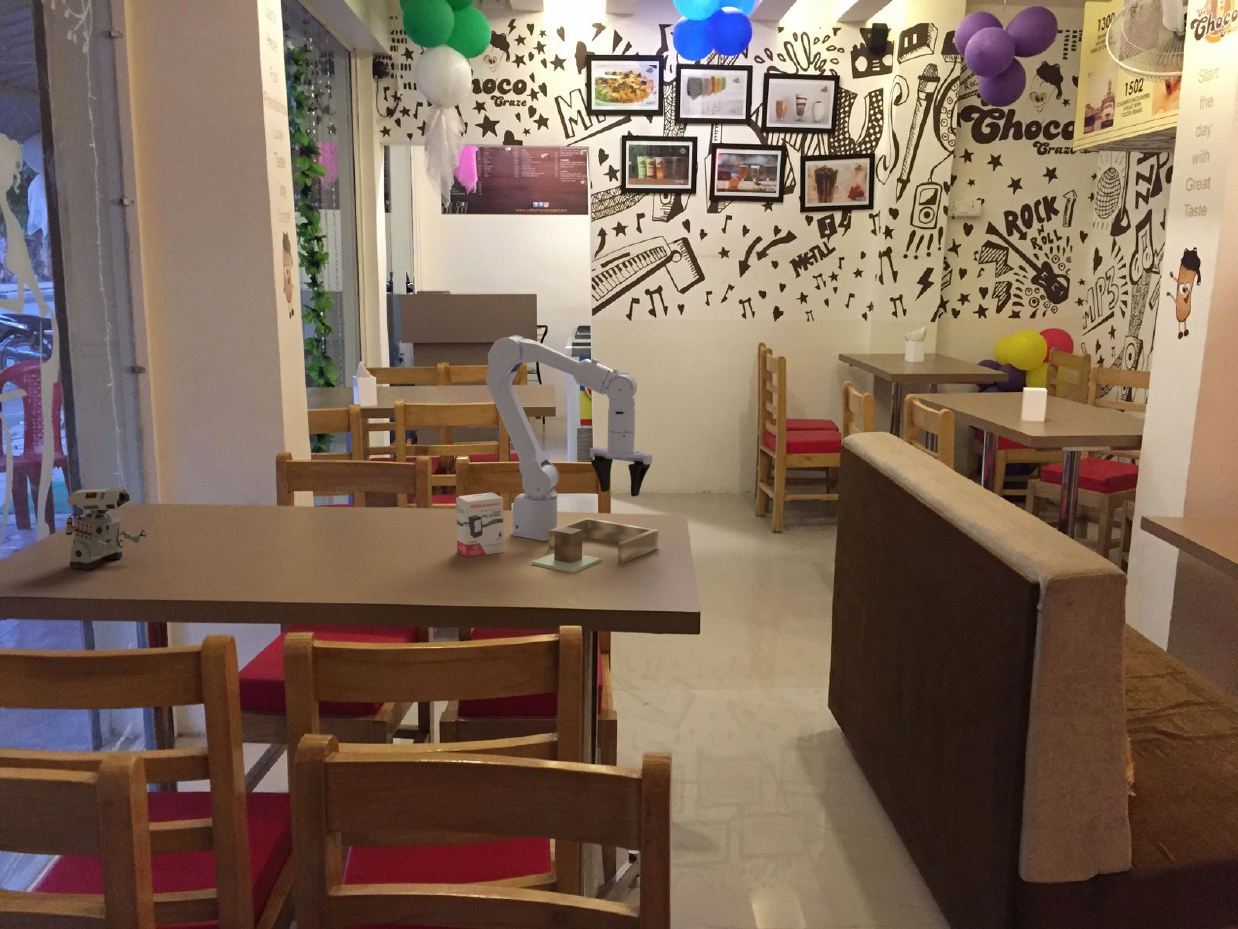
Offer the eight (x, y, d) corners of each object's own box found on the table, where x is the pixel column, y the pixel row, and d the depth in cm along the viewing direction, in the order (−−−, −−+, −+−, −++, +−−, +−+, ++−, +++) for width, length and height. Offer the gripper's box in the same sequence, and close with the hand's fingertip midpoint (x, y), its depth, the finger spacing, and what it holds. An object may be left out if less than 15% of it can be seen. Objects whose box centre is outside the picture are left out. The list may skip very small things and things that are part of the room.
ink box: (466, 558, 202) (465, 500, 200) (456, 552, 206) (455, 496, 204) (504, 552, 207) (504, 496, 204) (493, 546, 211) (493, 491, 209)
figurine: (114, 574, 187) (108, 495, 184) (63, 568, 190) (56, 491, 187) (148, 561, 196) (143, 485, 193) (98, 555, 199) (93, 481, 196)
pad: (531, 564, 198) (531, 561, 198) (561, 553, 206) (561, 550, 206) (573, 573, 193) (573, 570, 193) (601, 561, 201) (601, 558, 201)
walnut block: (554, 560, 199) (554, 530, 198) (565, 555, 203) (566, 526, 202) (570, 563, 197) (570, 533, 196) (582, 558, 201) (582, 529, 199)
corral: (548, 548, 210) (548, 530, 209) (585, 535, 221) (586, 517, 221) (623, 563, 200) (623, 543, 199) (657, 548, 212) (658, 529, 211)
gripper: (582, 429, 214) (581, 492, 216) (640, 436, 206) (639, 501, 209) (600, 426, 220) (599, 486, 222) (657, 432, 212) (656, 495, 215)
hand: (619, 493), depth 216 cm, fingers open, 7 cm apart
